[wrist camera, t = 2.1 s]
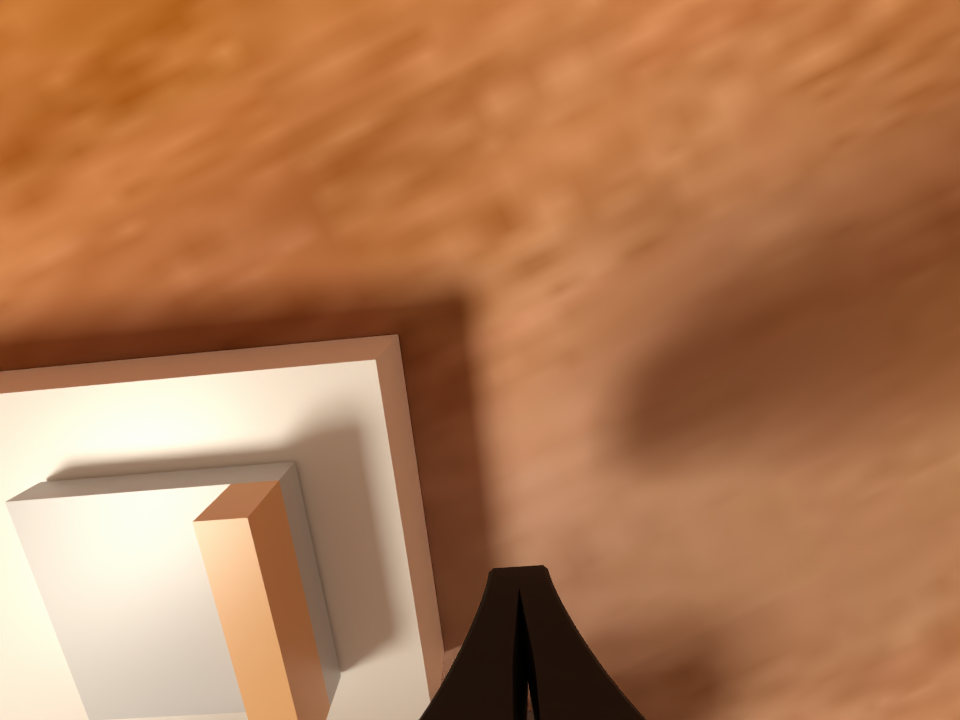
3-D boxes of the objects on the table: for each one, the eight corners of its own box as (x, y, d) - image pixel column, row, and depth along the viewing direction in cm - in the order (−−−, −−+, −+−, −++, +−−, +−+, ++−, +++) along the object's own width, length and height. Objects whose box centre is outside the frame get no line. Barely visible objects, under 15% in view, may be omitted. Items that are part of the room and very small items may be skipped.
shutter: (341, 676, 15) (309, 768, 12) (115, 689, 15) (39, 781, 13) (295, 461, 13) (247, 517, 10) (40, 482, 13) (-65, 541, 11)
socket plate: (444, 653, 18) (434, 733, 15) (-67, 683, 19) (-166, 764, 16) (398, 334, 15) (375, 359, 12) (-207, 390, 16) (-359, 426, 13)
